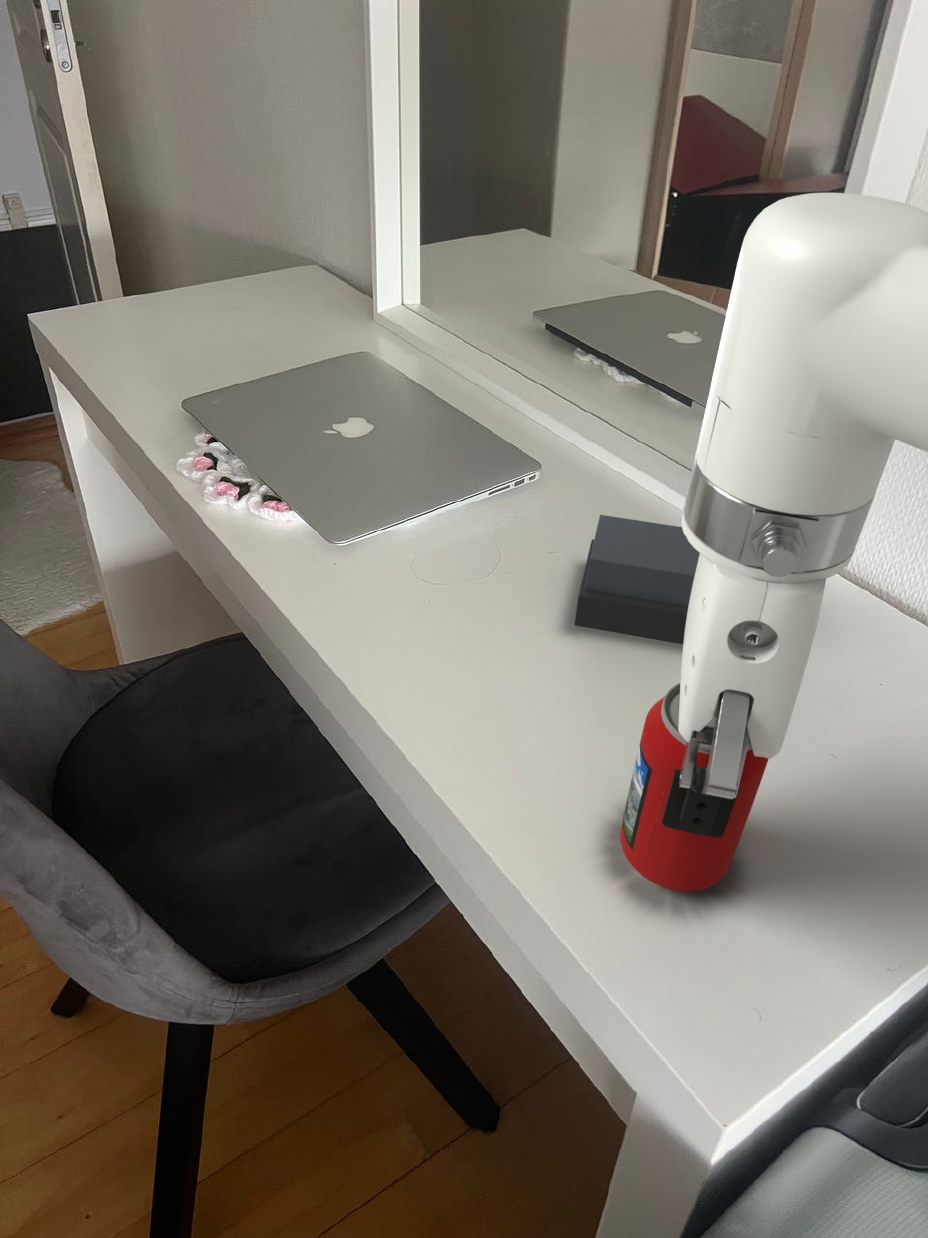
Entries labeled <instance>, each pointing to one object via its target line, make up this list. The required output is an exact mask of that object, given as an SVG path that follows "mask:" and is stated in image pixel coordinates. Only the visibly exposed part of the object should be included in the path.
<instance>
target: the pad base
mask: <svg viewBox="0 0 928 1238" xmlns="http://www.w3.org/2000/svg"><path fill="white" fill-rule="evenodd" d="M594 539H595V538H593V539H592V538H591V540H590V546H589V550H588V554H587V558H586V563H585V566H584V570H583V575H582V579H581V583H580V587H579V590H578V591H579V592H578V596H577V603H576V610H575V617H574V618H575V619H574V626H578V627H579V626H580V627H585V628H591V629H596V630H601V631H607V632H612V633H618V634H624V635H630V636H636V637H642V638H646V639H652V640H659V641H664V642H668V643H669V642H670V643H675V644H682V645H683V643H684V634H685V626H686V619H687V612H688V607H685V606H679V605H673V604H668V603H662V602H656V601H650V600H644V599H638V598H632V597H626V596H620V595H614V594H608V593H602V592H596V591H590V590H586V589H585V588H586V582H587V575H588V568H589V561H590V556H591V551H592V547H593V543H594Z"/></svg>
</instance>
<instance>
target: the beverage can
mask: <svg viewBox="0 0 928 1238" xmlns="http://www.w3.org/2000/svg"><path fill="white" fill-rule="evenodd" d="M679 704H680V682H678V683H677V684H675V685H674V686H672V687H671V688H669V690H668V691H667V692H666V693H665V695H664V696H663V697H662V698H660V699H659V700H658V701H656V702H655V703H654V705H652V707H651V708H650V709H649V710H648V711H647V714H646V716H645V720H644V724H643V728H642V733H641V737H640V740H639V745H638V748H637V754H636V758H635V762H634V767H633V771H632V775H631V781H630V783H629V788H628V792H627V793H628V795H627V797H626V802H625V808H624V813H623V817H622V822H621V827H620V832H619V838H620V845H621V848H622V849H621V850H622V851H623V854H624V856H625V858H626V860H627V861H628V863H629V864H630V865H631V866H632V868H633V869H634V871H636V872H637V873H638V874H639V875H641V876H642V877H643V878H645V879H646V880H648V881H649V882H651V883H653V884H655V885H657V886H660V887H662V888H665V889H668V890H673V891H680V892H694V891H701V890H704V889H708V888H710V887H712V886H714V885H715V884H717V883H718V882H720V880H722V879H723V877H725V875H726V874H727V872H728V870H729V869H730V868H731V867H730V866H731V864H732V861H733V859H734V856H735V853H736V850H737V848H738V846H739V843H740V840H741V837H742V835H743V833H744V830H745V827H746V824H747V822H748V820H749V817H750V814H751V811H752V808H753V806H754V802H755V799H756V797H757V794H758V791H759V788H760V786H761V782H762V780H763V777H764V773H765V771H766V768H767V765H768V762H769V759H768V758H765V757H758V756H754V753H753V750H752V746H751V742H750V739H749V744H748V748H747V752H746V757H745V761H744V766H743V770H742V775H741V779H740V784H739V792H738V794H737V797H736V800H735V803H734V806H733V809H732V812H731V815H730V818H729V821H728V824H727V827H726V829H725V832H724V835H723V836H722V837H719V838H715V837H710V836H705V835H698V834H693V833H689V832H686V831H681V830H677V829H672V828H668V827H665V826H664V825H663V823H662V820H663V812H664V809H665V805H666V801H667V797H668V794H669V790H670V786H671V783H672V779H673V775H674V771H675V769H677V770H680V769H681V768H682V763H683V758H684V753H685V748H686V744H687V741H685V740H684V738H683V737H682V736H681V734H680V733H679V730H678V722H679ZM715 720H716V718H715V717H713V719H712V720H711V721H710V722H709V723H708V724H707V725H706V726H710V727H714V726H715ZM710 751H711V745H707V744H702V743H700V746H699V751H698V756H697V760H696V766H701V767H706V768H707V766H708V762H709V757H710Z"/></svg>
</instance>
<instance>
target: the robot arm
mask: <svg viewBox="0 0 928 1238" xmlns="http://www.w3.org/2000/svg"><path fill="white" fill-rule="evenodd" d="M730 291H731V292H730V294H729V301H728V305H727V310H726V314H725V317H724V318H725V319H724V324H723V328H722V332H721V337H720V341H719V347H718V350H717V355H716V361H715V365H714V368H713V369H714V370H713V374H712V379H711V384H710V389H709V393H708V397H707V401H706V406H705V411H704V415H703V420H702V423H701V428H700V434H699V437H698V441H697V447H696V451H695V456H694V459H693V460H694V461H693V465H692V469H691V473H690V478H689V482H688V487H687V492H686V497H685V501H684V507H683V510H682V514H681V519H680V520H681V523H680V524H681V527H682V529H683V533H684V535H685V536H686V538H687V540H688V541H689V543H690V544H691V545H692V546H693V547H694V548H695V549H696V550H697V551H698V552H699V553H700V555H699V559H698V564H697V568H696V572H695V577H694V581H693V586H692V591H691V596H690V601H689V606H688V612H687V619H686V626H685V634H684V643H683V644H682V655H681V667H680V681H679V683H680V704H679V722H678V730H679V733H680V734H681V736H682V737H683V738H684V740H685V741H687V744H686V748H685V753H684V758H683V763H682V768H681V769H680V770H677V769H675V771H674V775H673V779H672V783H671V786H670V790H669V794H668V797H667V801H666V805H665V809H664V812H663V820H662V823H663V825H664V826H665V827H668V828H672V829H677V830H681V831H686V832H689V833H693V834H698V835H705V836H710V837H715V838H719V837H722V836H723V835H724V832H725V829H726V827H727V824H728V821H729V818H730V815H731V812H732V809H733V806H734V803H735V800H736V797H737V794H738V792H739V784H740V779H741V775H742V770H743V766H744V761H745V757H746V752H747V748H748V744H749V739H750V742H751V746H752V750H753V753H754V756H758V757H765V758H768V760H772V759H773V758H774V757H776V756H777V755H778V754H779V753H780V752H781V751H782V747H783V743H784V741H785V737H786V734H787V731H788V728H789V725H790V721H791V718H792V716H793V712H794V708H795V705H796V701H797V698H798V696H799V693H800V688H801V685H802V682H803V678H804V676H805V672H806V668H807V665H808V661H809V659H810V655H811V650H812V648H813V647H812V646H813V643H814V639H815V636H816V632H817V628H818V627H817V626H818V623H819V618H820V614H821V608H822V604H823V598H824V592H825V587H826V580H827V579H829V578H831V577H834V576H836V575H837V574H839V573H840V572H842V571H844V569H845V568H847V566H849V565H850V562H851V561H852V558H853V556H854V553H855V550H856V547H857V545H858V542H859V539H860V537H861V534H862V531H863V529H864V527H865V523H866V521H867V519H868V515H869V513H870V510H871V507H872V504H873V502H874V499H875V497H876V493H877V490H878V487H879V485H880V481H881V478H882V476H883V473H884V472H885V471H884V470H885V468H886V465H887V462H888V460H889V457H890V454H891V452H892V449H893V447H894V444H895V441H898V442H901V443H903V444H907V445H909V446H911V447H913V448H917V449H918V450H921V451H924V452H926V453H928V211H926V210H924V209H921V208H918V207H916V206H914V205H910V204H907V203H904V202H901V201H896V200H893V199H888V198H884V197H879V196H872V195H865V194H858V193H857V194H856V193H847V192H811V193H804V194H799V195H793V196H787V197H785V198H781V199H778V200H777V201H775V202H773V203H772V204H770V205H768V206H767V207H765V208H763V209H762V211H761V212H760V213H759V214H757V216H756V217H755V218H754V219H753V221H752V222H751V224H750V226H749V227H748V229H747V231H746V233H745V235H744V237H743V241H742V244H741V248H740V252H739V255H738V259H737V263H736V268H735V273H734V278H733V282H732V286H731V290H730ZM713 717H715V718H716V720H715V726H714V727H710V726H706V725H707V724H708V723H709V722H710V721H711V720H712V719H713ZM700 743H702V744H707V745H711V751H710V757H709V762H708V766H707V768H706V767H701V766H696V760H697V756H698V751H699V746H700Z"/></svg>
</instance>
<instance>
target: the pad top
mask: <svg viewBox="0 0 928 1238" xmlns="http://www.w3.org/2000/svg"><path fill="white" fill-rule="evenodd" d="M593 539H594V543H593V547H592V551H591V556H590V561H589V568H588V575H587V582H586V588H585V589H586V590H590V591H596V592H602V593H608V594H614V595H620V596H626V597H632V598H638V599H644V600H650V601H656V602H662V603H668V604H673V605H679V606H685V607H688V606H689V601H690V596H691V591H692V586H693V581H694V577H695V572H696V568H697V564H698V559H699V555H700V553H699V552H698V551H697V550H696V549H695V548H694V547H693V546H692V545H691V544H690V543H689V541H688V540H687V538H686V536H685V535H684V533H683V529H682V526H678V525H669V524H663V523H658V522H650V521H645V520H637V519H632V518H626V517H625V518H624V517H619V516H612V515H605V514H599V517H598V521H597V526H596V530H595V533H594V538H593Z"/></svg>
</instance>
